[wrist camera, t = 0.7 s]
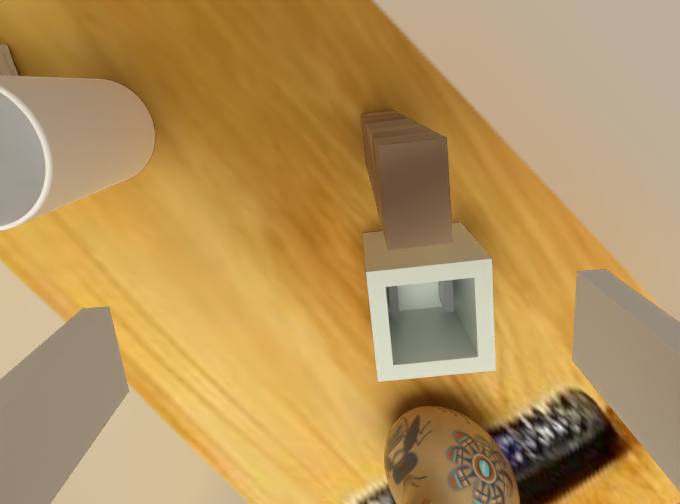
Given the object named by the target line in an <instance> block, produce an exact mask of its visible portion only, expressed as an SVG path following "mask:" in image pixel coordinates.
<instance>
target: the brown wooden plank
mask: <svg viewBox="0 0 680 504" xmlns="http://www.w3.org/2000/svg"><path fill="white" fill-rule="evenodd" d="M361 120H362V130H363V140H364V150H365V159H366V166H367V170H368V174H369V178H370V182H371V186H372V190H373V194H374V197H375V201H376V205H377V209H378V213H379V217H380V221H381V225H382V229H383V233H384V237H385V241H386V245H387V249H388V250H395V249H404V248H413V247H422V246H431V245H440V244H450V243H453V238H452V221H451V203H450V186H449V168H448V150H447V138H446V137H444V136H442V135H440V134H438V133H436V132H434V131H432V130H430V129H428V128H427V127H425V126H423V125H421V124H419V123H417V122H415V121H413V120H411V119H409V118H407V117H405V116H403V115H401V114H399V113H397V112H395V111H393V110H388V111H380V112H372V113H364V114H361Z"/></svg>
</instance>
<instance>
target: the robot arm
mask: <svg viewBox="0 0 680 504" xmlns="http://www.w3.org/2000/svg"><path fill="white" fill-rule="evenodd" d="M572 361H573V362H574V363H575V364H576V365H577V367H578V368H579V369H580V370H581V371H582V373H583V374H584V375H585V376H586V378H587V379H588V380H589V381H590V382H591V384H592V385H593V386H594V387H595V389H596V390H597V391H598V392H599V393H600V395H601V396H602V397H603V398H604V400H605V401H606V402H607V403H608V404H609V406H610V407H611V408H612V409H613V411H614V412H615V413H616V414H617V415H618V417H619V418H620V419H621V420H622V422H623V423H624V424H625V425H626V426H627V428H628V429H629V430H630V431H631V433H632V434H633V435H634V436H635V437H636V439H637V440H638V441H639V442H640V444H641V445H642V446H643V447H644V448H645V450H646V451H647V452H648V453H649V454H650V456H651V457H652V458H653V459H654V461H655V462H656V463H657V464H658V465H659V467H660V468H661V469H662V470H663V472H664V473H665V474H666V475H667V476H668V478H669V479H670V480H671V481H672V483H673V484H674V485H675V486H676V487H677V489H678V490H679V491H680V322H678V321H677V320H676V319H674V318H673V317H671V316H670V315H669V314H667V313H666V312H664V311H663V310H662V309H660V308H659V307H657V306H656V305H655V304H653V303H652V302H650V301H649V300H648V299H646V298H645V297H643V296H642V295H641V294H639V293H638V292H637V291H635V290H634V289H632V288H631V287H630V286H628V285H627V284H625V283H624V282H623V281H621V280H620V279H618V278H617V277H616V276H614V275H613V274H611V273H610V272H609V271H607V270H606V269H600V270H587V271H577V281H576V299H575V318H574V336H573V354H572ZM128 392H129V389H128V385H127V380H126V376H125V372H124V368H123V363H122V359H121V355H120V351H119V346H118V342H117V338H116V334H115V329H114V325H113V321H112V317H111V313H110V308H109V307H98V308H85V309H82V310H81V311H79V312H78V313H77V314H76V315H75V316H74V317H72V318H71V319H70V320H69V321H68V322H67V323H65V324H64V325H63V326H62V327H61V328H60V329H58V330H57V331H56V332H55V333H54V334H53V335H51V336H50V337H49V338H48V339H47V340H46V341H45V342H43V343H42V344H41V345H40V346H39V347H38V348H36V349H35V350H34V351H33V352H32V353H31V354H29V355H28V356H27V357H26V358H25V359H24V360H22V361H21V362H20V363H19V364H18V365H17V366H15V367H14V368H13V369H12V370H11V371H10V372H8V373H7V374H6V375H5V376H4V377H3V378H2V379H1V380H0V504H50V503H51V502H52V500H53V499H54V498H55V496H56V495H57V493H58V492H59V490H60V489H61V487H62V486H63V485H64V483H65V482H66V480H67V479H68V477H69V476H70V475H71V473H72V472H73V470H74V469H75V467H76V466H77V465H78V463H79V462H80V460H81V459H82V458H83V456H84V455H85V453H86V452H87V450H88V449H89V448H90V446H91V445H92V443H93V442H94V440H95V439H96V437H97V436H98V435H99V433H100V432H101V430H102V429H103V428H104V426H105V425H106V423H107V422H108V420H109V419H110V417H111V416H112V415H113V413H114V412H115V410H116V409H117V408H118V406H119V405H120V403H121V402H122V400H123V399H124V398H125V396H126V395H127V393H128Z"/></svg>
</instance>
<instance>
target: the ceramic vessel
mask: <svg viewBox="0 0 680 504" xmlns="http://www.w3.org/2000/svg"><path fill="white" fill-rule="evenodd" d="M384 463H385V472H386V477H387V481H388V484H389V487H390V490H391V493H392V495H393V498H394V500H395V502H396V504H520V498H519V491H518V486H517V482H516V479H515V476H514V473H513V471H512V468H511V466H510V464H509V462H508V460H507V458H506V457H505V455H504V453H503V452H502V450H501V449H500V447H499V446H498V444H497V443H496V442H495V441H494V439H493V438H492V437H491V436H490V435H489V434H488V433H487V432H486V431H485V430H484V429H483V428H482V427H481V426H479V425H478V424H477V423H476V422H474V421H473V420H472V419H470V418H468V417H467V416H465V415H463V414H461V413H459V412H457V411H455V410H452V409H449V408H446V407H441V406H421V407H417V408H414V409H411V410H409V411H407V412H406V413H404V414H403V415H402V416H401V417H399V418H398V420H397V421H396V422H395V423H394V425H393V426H392V428H391V430H390V432H389V434H388V437H387V440H386V445H385V453H384Z"/></svg>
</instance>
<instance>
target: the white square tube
mask: <svg viewBox="0 0 680 504" xmlns="http://www.w3.org/2000/svg"><path fill="white" fill-rule="evenodd" d="M452 238H453V243H450V244H440V245H431V246H422V247H413V248H404V249H395V250H388V249H387V245H386V241H385V237H384V233H383V231H376V232H367V233H362V239H363V248H364V258H365V267H366V277H367V286H368V295H369V304H370V313H371V322H372V331H373V341H374V350H375V359H376V368H377V377H378V382H381V381H392V380H402V379H412V378H422V377H433V376H443V375H453V374H463V373H474V372H484V371H494V370H496V365H495V336H494V307H493V278H492V258H491V257H490V256H489V255H488V254H487V252H486V251H485V250H484V249H483V248H482V247H481V245H480V244H479V243H478V242H477V241H476V239H475V238H474V237H473V236H472V235H471V234H470V232H469V231H468V230H467V229H466V228H465V227H464V225H463V224H462V223H461V222H458V223H452Z"/></svg>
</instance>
